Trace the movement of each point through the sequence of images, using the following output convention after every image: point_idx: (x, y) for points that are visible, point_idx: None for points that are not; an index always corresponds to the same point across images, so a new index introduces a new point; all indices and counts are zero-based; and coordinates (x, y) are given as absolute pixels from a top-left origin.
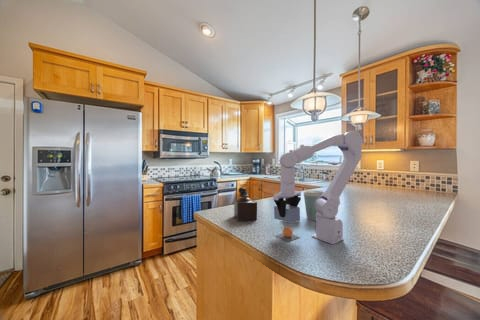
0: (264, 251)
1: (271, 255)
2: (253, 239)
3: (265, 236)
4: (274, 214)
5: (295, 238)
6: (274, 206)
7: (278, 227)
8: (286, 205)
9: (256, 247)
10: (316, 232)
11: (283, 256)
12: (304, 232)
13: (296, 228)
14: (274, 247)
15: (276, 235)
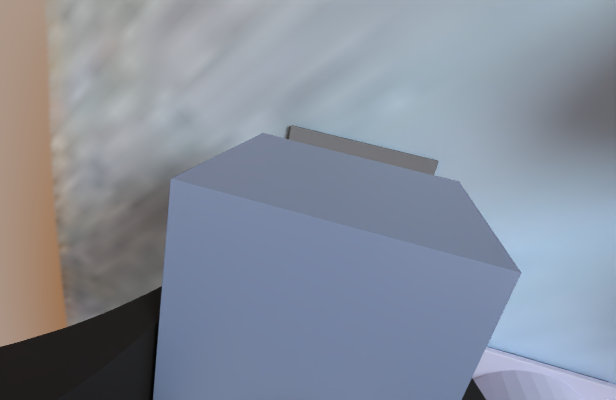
0: (65, 197)
1: (68, 246)
2: (113, 24)
3: (228, 62)
4: (241, 148)
5: None
6: (174, 191)
7: (532, 14)
8: (399, 382)
9: (56, 130)
10: (486, 398)
11: (108, 294)
12: (535, 277)
13: (612, 185)
14: (143, 216)
15: (300, 131)
